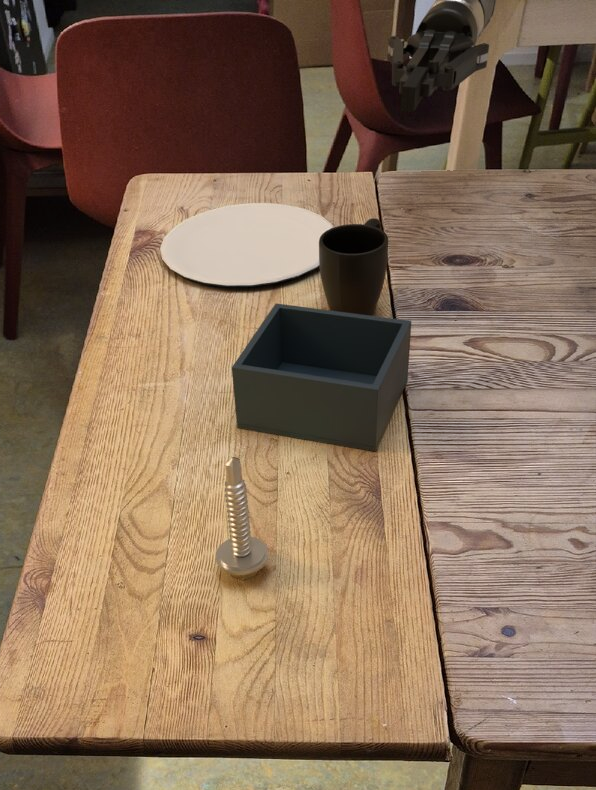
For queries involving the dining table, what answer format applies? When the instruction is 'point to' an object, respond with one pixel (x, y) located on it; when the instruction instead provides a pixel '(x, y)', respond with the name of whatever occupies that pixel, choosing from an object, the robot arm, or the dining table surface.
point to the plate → (245, 244)
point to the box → (322, 375)
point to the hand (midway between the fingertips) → (408, 99)
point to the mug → (353, 266)
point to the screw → (239, 530)
